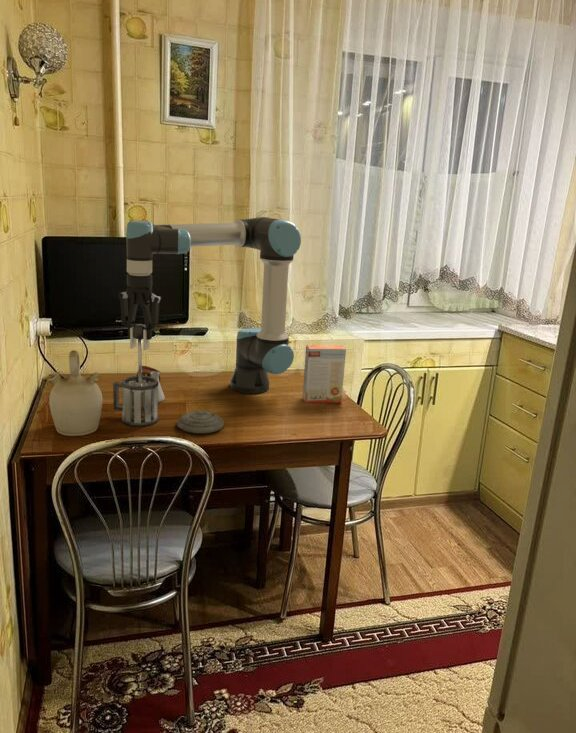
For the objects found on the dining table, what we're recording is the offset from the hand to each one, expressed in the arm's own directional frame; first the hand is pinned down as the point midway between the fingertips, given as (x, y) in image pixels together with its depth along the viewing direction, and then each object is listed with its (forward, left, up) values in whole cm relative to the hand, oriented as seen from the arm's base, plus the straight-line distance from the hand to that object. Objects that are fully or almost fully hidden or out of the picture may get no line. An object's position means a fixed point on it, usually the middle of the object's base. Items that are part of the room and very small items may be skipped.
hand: (139, 348), depth 189 cm
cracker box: (-52, -43, -24) cm, 72 cm away
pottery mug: (+13, -32, -24) cm, 43 cm away
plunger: (0, 0, -14) cm, 14 cm away
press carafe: (+2, 0, -24) cm, 24 cm away
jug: (+14, +14, -24) cm, 31 cm away
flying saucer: (-20, -2, -25) cm, 32 cm away
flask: (+4, -19, -24) cm, 31 cm away
